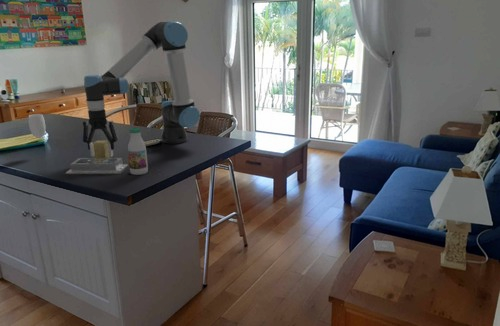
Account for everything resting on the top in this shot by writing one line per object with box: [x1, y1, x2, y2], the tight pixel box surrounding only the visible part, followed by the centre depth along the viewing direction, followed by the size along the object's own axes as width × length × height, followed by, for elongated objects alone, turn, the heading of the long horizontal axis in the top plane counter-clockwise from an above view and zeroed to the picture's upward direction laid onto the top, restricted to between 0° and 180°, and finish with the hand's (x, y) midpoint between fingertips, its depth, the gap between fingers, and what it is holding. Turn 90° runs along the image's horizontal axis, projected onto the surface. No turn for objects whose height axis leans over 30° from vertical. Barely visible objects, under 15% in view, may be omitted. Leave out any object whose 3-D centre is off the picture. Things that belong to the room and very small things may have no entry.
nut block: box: [93, 139, 111, 158], centre depth 193 cm, size 5×5×10 cm
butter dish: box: [65, 157, 129, 175], centre depth 182 cm, size 24×12×4 cm, turn 89°
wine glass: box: [28, 113, 46, 139], centre depth 202 cm, size 7×7×21 cm
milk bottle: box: [127, 127, 149, 176], centre depth 176 cm, size 8×8×20 cm
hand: (102, 156), depth 194 cm, fingers open, 8 cm apart
